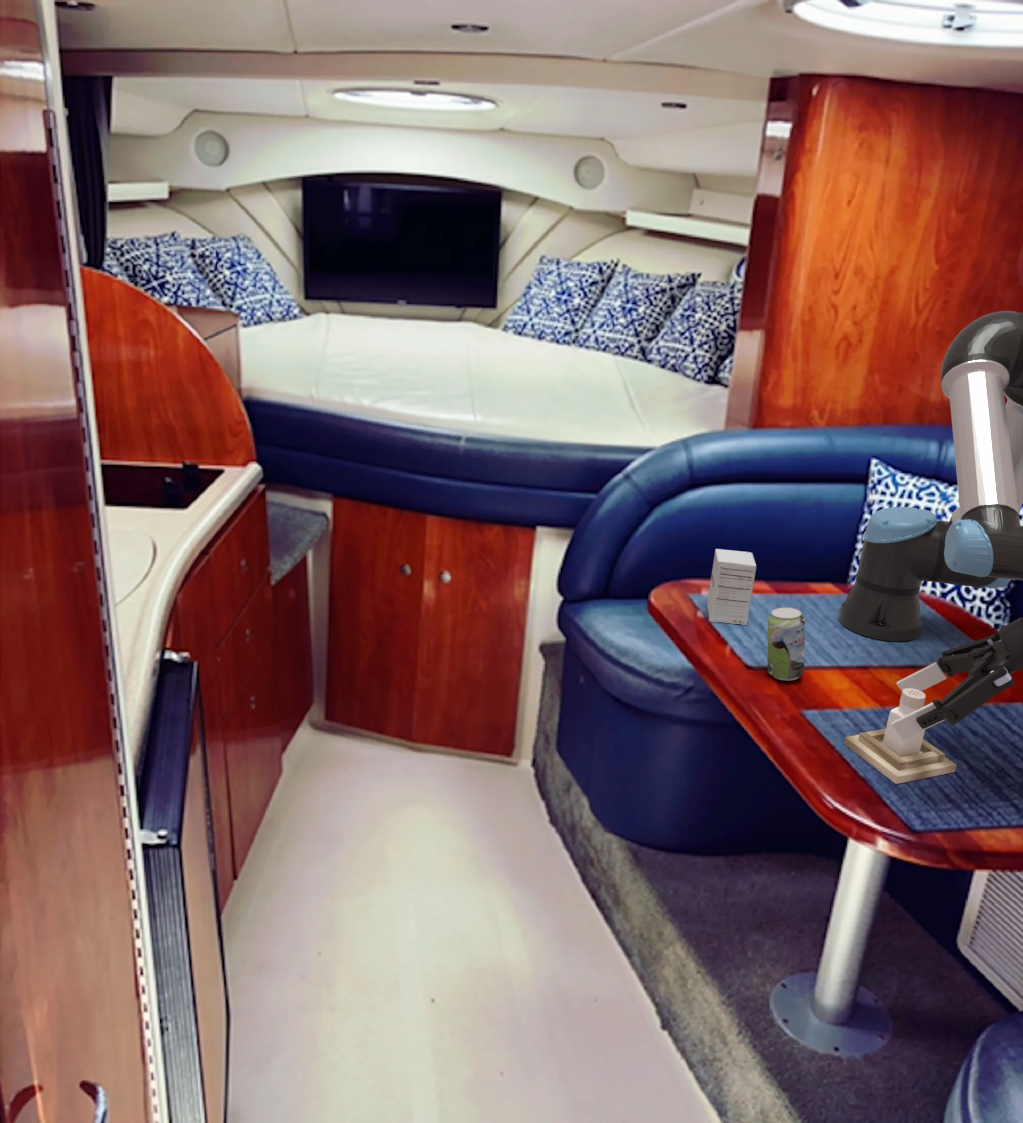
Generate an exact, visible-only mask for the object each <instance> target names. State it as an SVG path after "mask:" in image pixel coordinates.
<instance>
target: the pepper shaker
mask: <svg viewBox="0 0 1023 1123" xmlns="http://www.w3.org/2000/svg"><path fill="white" fill-rule="evenodd" d="M926 697H927V696H926V694H925V692H923V691H919V690H917V689H913V688H905V689H903V691H901V696H900V699H899V706H897V707H894V708H892V709H891V710H890V711H889V714H888V719H887V722H886V728H885V729H886V731H885V735H884V739H883V745H884V746H886V747H887V748H888V749H890V750H891V751H893V752H894V753H895V754H897V755H898V756H899V757H905V756H910V755H915V754H918V753H919V752H920V749H921V745H922V741H923V739H924V736H925V733H926V732H925V731H926V730H923V731H921V732H919V733H917V734H915V735H913V736H911V737H909V738H907V739H905V740H903V739H902V738H901V736H900V735H899V734H898V733H897V731H896V730H895V729H894V727H893V726H892V722H893V721H895V720H897V719H899V718H901V717H904V716H906V715H908V714H910V713H912V712H914V711H916V710H918V709H920V708H922V707H924V706H925V702H926Z"/></svg>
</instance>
